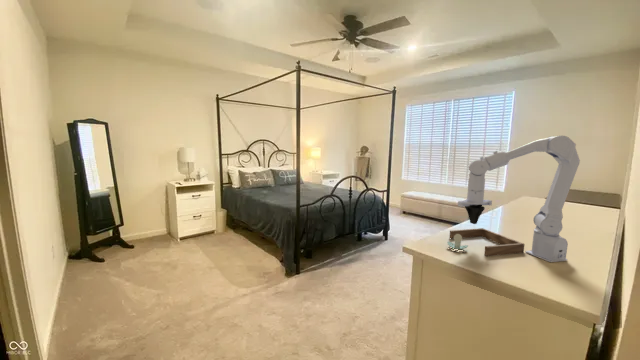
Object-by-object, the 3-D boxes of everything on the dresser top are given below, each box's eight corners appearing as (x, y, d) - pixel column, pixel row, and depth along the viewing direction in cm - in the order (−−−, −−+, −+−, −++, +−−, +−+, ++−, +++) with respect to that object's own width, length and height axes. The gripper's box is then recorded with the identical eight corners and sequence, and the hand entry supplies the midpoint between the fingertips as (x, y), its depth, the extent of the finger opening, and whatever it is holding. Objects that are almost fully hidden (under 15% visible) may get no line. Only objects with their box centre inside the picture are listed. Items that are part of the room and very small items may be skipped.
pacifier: (465, 255, 102) (468, 250, 107) (466, 239, 101) (469, 234, 106) (444, 250, 107) (448, 245, 112) (445, 235, 106) (449, 231, 111)
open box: (523, 252, 105) (524, 243, 104) (486, 256, 101) (487, 247, 100) (481, 235, 124) (482, 228, 123) (449, 238, 120) (449, 230, 120)
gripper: (482, 188, 114) (480, 219, 116) (453, 189, 111) (451, 221, 113) (497, 190, 108) (494, 224, 109) (466, 192, 104) (463, 226, 106)
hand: (473, 223), depth 111 cm, fingers closed
